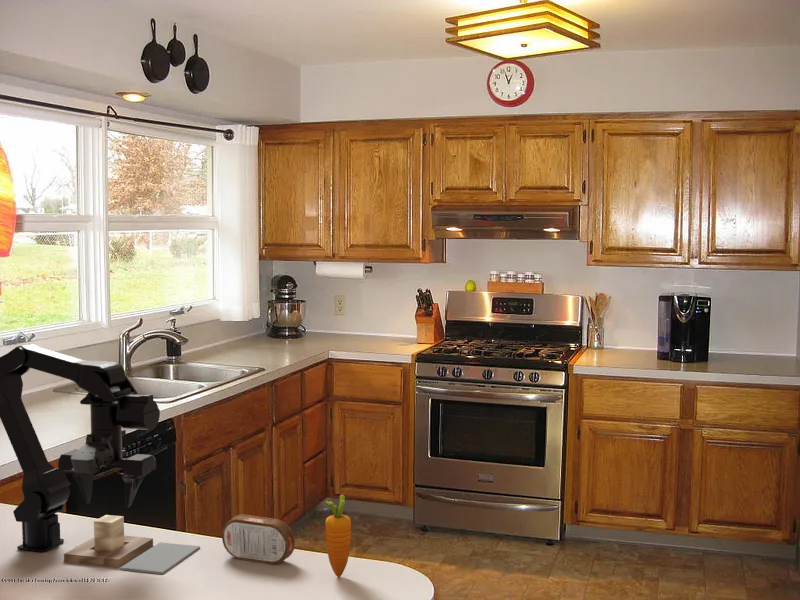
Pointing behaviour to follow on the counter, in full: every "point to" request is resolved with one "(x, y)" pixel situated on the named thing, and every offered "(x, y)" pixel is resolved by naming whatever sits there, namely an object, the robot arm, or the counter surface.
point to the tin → (258, 539)
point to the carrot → (338, 537)
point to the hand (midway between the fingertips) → (108, 505)
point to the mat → (160, 558)
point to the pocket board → (108, 552)
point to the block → (109, 533)
